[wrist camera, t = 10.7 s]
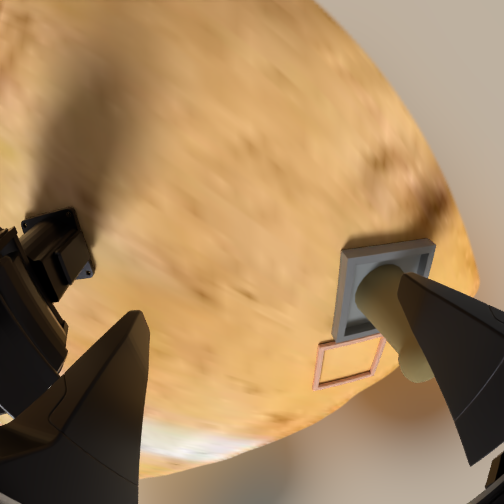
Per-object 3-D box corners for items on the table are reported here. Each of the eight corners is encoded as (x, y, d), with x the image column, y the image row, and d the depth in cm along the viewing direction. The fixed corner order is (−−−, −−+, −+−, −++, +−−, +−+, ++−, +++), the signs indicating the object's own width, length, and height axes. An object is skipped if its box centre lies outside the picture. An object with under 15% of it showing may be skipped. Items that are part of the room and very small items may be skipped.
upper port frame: (312, 388, 33) (313, 391, 33) (318, 344, 29) (319, 347, 28) (372, 372, 34) (373, 375, 33) (387, 328, 29) (389, 330, 29)
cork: (350, 279, 25) (408, 367, 15) (403, 254, 24) (472, 326, 14) (358, 321, 27) (403, 402, 18) (405, 298, 27) (458, 368, 17)
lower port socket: (331, 333, 28) (335, 343, 27) (341, 250, 23) (347, 258, 22) (407, 314, 29) (413, 322, 27) (427, 238, 24) (436, 244, 23)
